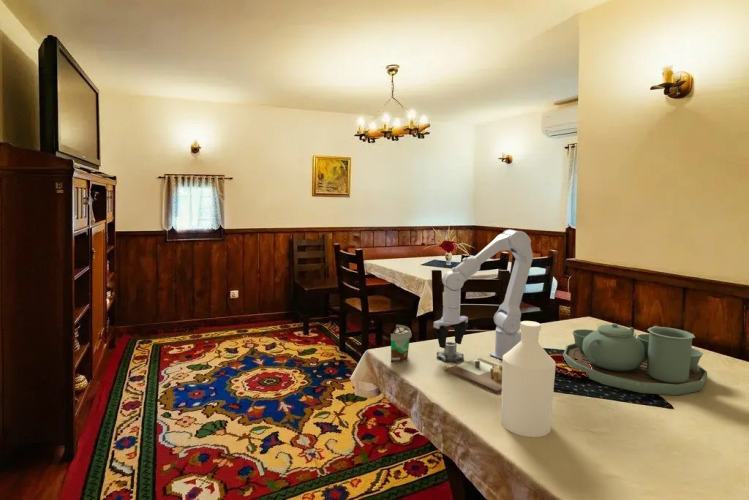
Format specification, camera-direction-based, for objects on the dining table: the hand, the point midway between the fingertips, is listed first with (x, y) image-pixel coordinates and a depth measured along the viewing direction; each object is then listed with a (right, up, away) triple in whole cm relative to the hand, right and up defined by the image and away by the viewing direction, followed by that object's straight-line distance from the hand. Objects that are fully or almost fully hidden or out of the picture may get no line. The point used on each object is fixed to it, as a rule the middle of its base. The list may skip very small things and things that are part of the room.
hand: (450, 345), depth 150 cm
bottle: (+10, -10, -45) cm, 47 cm away
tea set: (+57, -6, -8) cm, 58 cm away
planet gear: (0, -4, 0) cm, 4 cm away
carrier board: (+9, -6, -15) cm, 19 cm away
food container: (-17, -4, 0) cm, 17 cm away
